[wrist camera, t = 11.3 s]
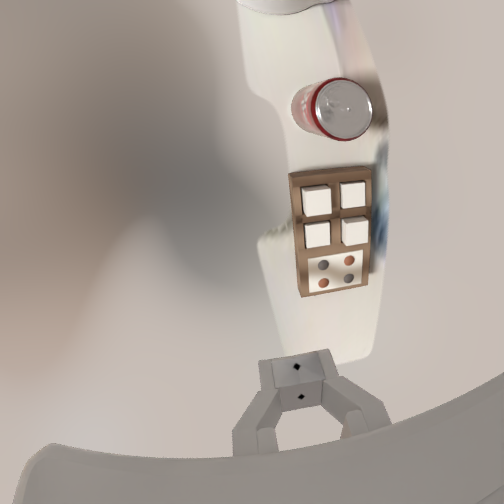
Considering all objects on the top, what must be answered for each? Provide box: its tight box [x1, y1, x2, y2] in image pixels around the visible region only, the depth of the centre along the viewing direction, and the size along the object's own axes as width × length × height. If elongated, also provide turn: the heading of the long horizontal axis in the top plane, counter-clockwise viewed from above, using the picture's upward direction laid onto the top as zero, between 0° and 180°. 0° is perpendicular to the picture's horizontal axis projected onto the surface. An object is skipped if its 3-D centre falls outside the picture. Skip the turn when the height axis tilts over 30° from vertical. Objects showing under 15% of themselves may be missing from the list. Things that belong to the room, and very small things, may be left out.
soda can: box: [291, 77, 373, 141], centre depth 33 cm, size 7×7×12 cm
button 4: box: [339, 180, 365, 209], centre depth 42 cm, size 4×4×2 cm
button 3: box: [341, 215, 368, 246], centre depth 43 cm, size 4×4×2 cm
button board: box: [288, 166, 372, 298], centre depth 45 cm, size 20×12×3 cm, turn 8°
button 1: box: [303, 220, 330, 248], centre depth 44 cm, size 4×4×2 cm
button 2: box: [301, 184, 332, 217], centre depth 41 cm, size 4×4×2 cm
